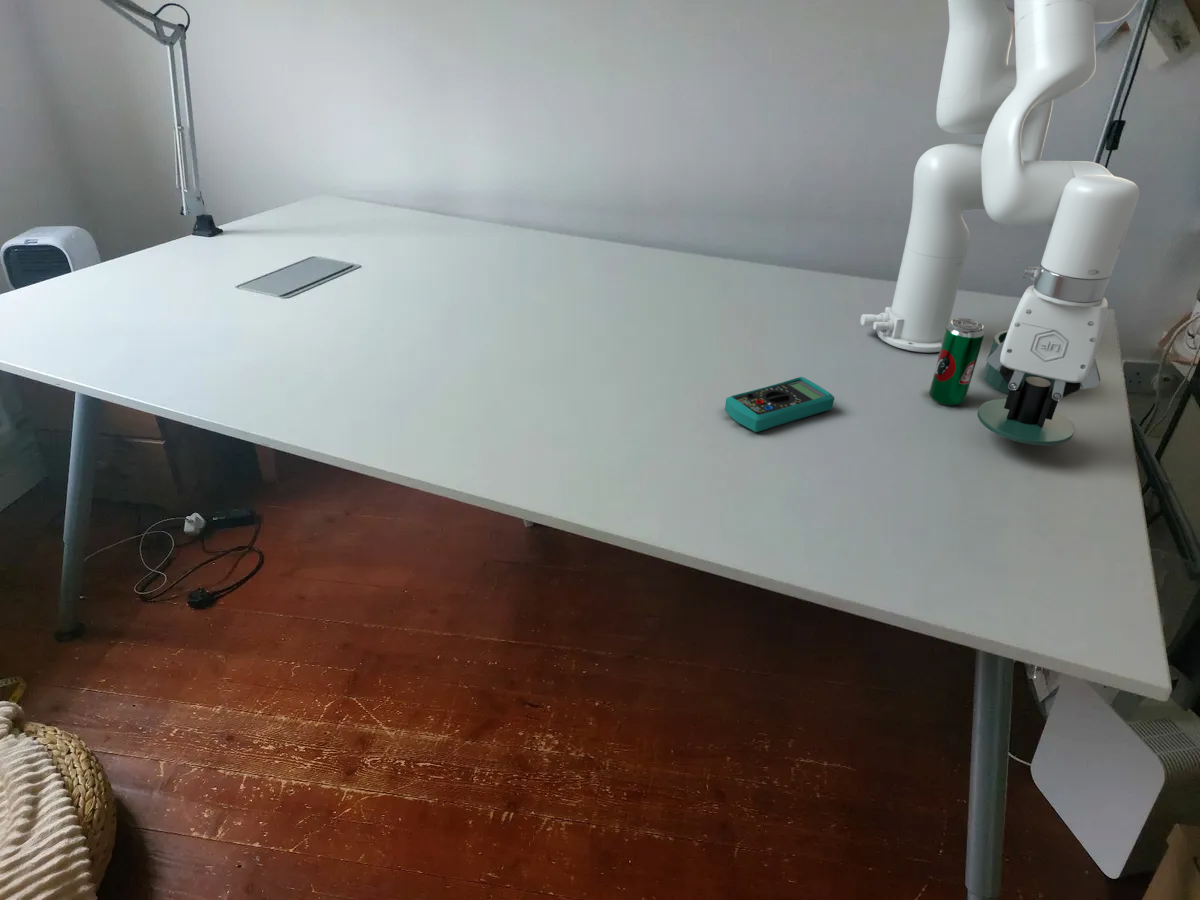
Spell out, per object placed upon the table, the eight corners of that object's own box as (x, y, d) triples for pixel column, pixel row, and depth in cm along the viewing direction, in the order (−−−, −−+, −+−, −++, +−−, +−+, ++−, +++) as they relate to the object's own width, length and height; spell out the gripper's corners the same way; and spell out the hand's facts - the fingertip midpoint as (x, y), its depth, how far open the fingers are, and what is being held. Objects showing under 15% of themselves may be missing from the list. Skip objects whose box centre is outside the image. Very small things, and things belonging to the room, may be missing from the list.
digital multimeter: (719, 413, 115) (721, 394, 113) (800, 390, 121) (803, 372, 119) (752, 436, 109) (754, 417, 108) (834, 411, 115) (838, 393, 114)
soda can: (960, 410, 116) (982, 334, 110) (924, 401, 118) (944, 325, 112) (967, 397, 120) (989, 322, 113) (932, 388, 122) (952, 314, 116)
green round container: (1023, 404, 118) (1036, 364, 115) (967, 373, 126) (978, 335, 123) (1075, 391, 122) (1090, 352, 118) (1018, 362, 130) (1030, 325, 127)
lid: (1026, 457, 100) (1042, 409, 97) (957, 415, 109) (969, 370, 106) (1092, 439, 104) (1110, 393, 101) (1020, 400, 113) (1034, 356, 110)
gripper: (992, 280, 97) (955, 413, 107) (1148, 308, 90) (1093, 448, 100) (1002, 263, 103) (965, 391, 112) (1150, 288, 95) (1097, 423, 105)
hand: (1026, 417), depth 106 cm, fingers closed on lid, 3 cm apart
